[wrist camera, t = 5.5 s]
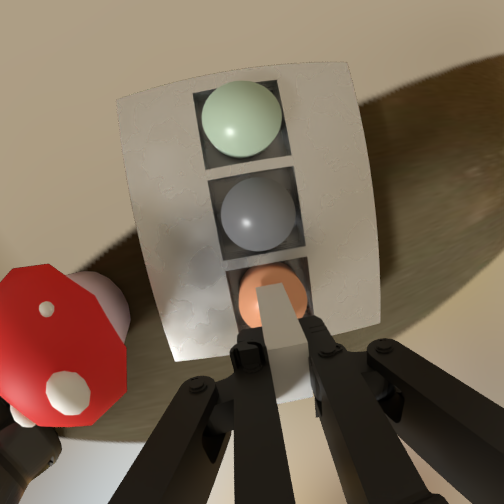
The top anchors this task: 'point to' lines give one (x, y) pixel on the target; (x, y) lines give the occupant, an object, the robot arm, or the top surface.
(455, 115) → the top surface
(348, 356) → the robot arm
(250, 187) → the button charcoal
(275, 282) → the button terracotta
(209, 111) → the button sage
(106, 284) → the mushroom
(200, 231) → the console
